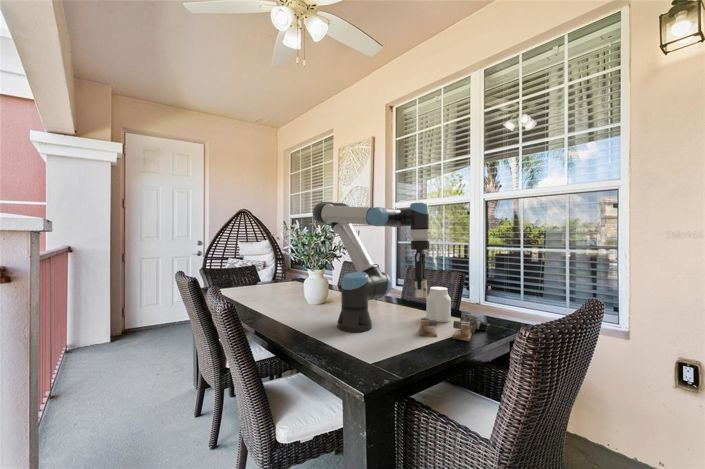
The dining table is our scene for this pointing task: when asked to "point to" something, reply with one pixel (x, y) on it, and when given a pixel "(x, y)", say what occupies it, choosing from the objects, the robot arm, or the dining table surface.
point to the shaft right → (462, 330)
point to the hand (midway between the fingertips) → (420, 296)
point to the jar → (438, 304)
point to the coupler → (423, 289)
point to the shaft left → (425, 327)
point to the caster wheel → (473, 322)
